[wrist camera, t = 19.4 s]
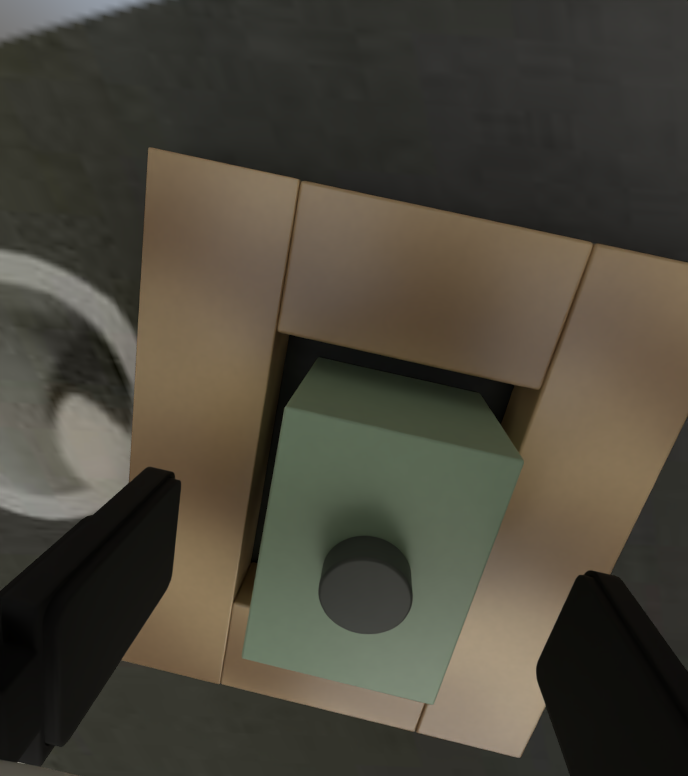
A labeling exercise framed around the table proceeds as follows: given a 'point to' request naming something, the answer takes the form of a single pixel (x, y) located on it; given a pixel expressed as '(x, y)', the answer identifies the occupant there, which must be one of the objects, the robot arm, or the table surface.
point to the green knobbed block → (377, 528)
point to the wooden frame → (410, 343)
